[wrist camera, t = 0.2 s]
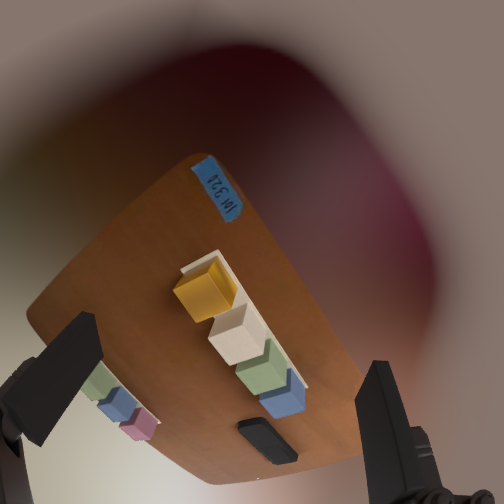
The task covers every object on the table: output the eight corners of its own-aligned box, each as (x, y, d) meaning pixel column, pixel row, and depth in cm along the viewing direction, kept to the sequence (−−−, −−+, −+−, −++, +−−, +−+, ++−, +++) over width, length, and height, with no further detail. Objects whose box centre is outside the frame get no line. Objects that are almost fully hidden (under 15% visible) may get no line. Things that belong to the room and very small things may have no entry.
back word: (59, 335, 41) (45, 350, 37) (74, 327, 39) (58, 343, 35) (142, 424, 47) (134, 442, 43) (161, 422, 45) (153, 440, 41)
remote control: (236, 419, 43) (275, 460, 47) (234, 427, 41) (274, 467, 45) (263, 413, 42) (299, 456, 45) (262, 422, 40) (299, 463, 44)
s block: (185, 271, 33) (172, 290, 29) (217, 254, 32) (207, 272, 28) (206, 302, 34) (196, 323, 30) (238, 287, 33) (231, 308, 29)
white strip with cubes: (180, 268, 33) (166, 287, 29) (218, 248, 32) (208, 266, 28) (275, 397, 39) (273, 421, 35) (308, 387, 38) (309, 411, 34)
